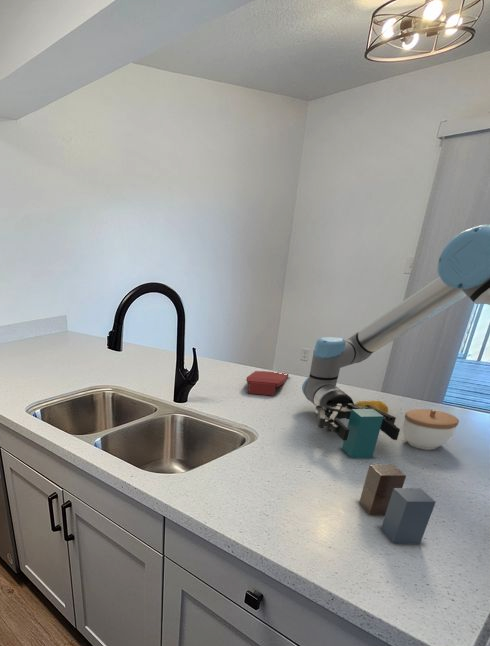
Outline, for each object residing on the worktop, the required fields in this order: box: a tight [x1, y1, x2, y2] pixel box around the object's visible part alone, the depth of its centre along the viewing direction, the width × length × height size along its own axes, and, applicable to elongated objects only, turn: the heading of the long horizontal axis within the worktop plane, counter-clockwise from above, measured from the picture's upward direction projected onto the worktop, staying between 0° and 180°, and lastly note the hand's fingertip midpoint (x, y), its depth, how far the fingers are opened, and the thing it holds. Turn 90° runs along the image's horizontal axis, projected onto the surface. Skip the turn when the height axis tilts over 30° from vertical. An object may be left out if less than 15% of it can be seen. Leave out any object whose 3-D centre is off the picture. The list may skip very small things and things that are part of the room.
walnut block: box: [358, 464, 407, 516], centre depth 86 cm, size 4×4×9 cm
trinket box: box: [402, 408, 460, 451], centre depth 109 cm, size 11×11×9 cm
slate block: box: [380, 487, 437, 545], centre depth 78 cm, size 4×4×9 cm
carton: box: [246, 370, 289, 397], centre depth 160 cm, size 12×5×25 cm
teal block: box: [341, 409, 384, 459], centre depth 106 cm, size 5×5×11 cm
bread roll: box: [354, 400, 389, 414], centre depth 130 cm, size 8×9×4 cm
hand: (371, 434), depth 102 cm, fingers open, 10 cm apart
